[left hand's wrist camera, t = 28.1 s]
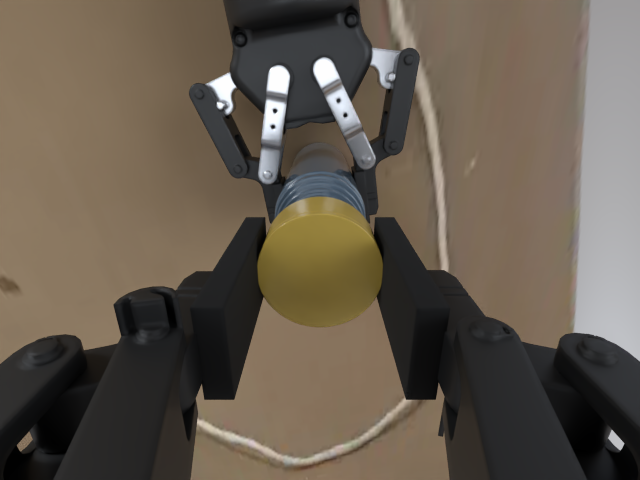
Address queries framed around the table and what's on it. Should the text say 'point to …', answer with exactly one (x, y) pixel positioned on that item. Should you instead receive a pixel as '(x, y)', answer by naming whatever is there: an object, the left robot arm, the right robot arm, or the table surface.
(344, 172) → the bottle
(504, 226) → the table surface
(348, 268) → the cap
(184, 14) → the table surface
